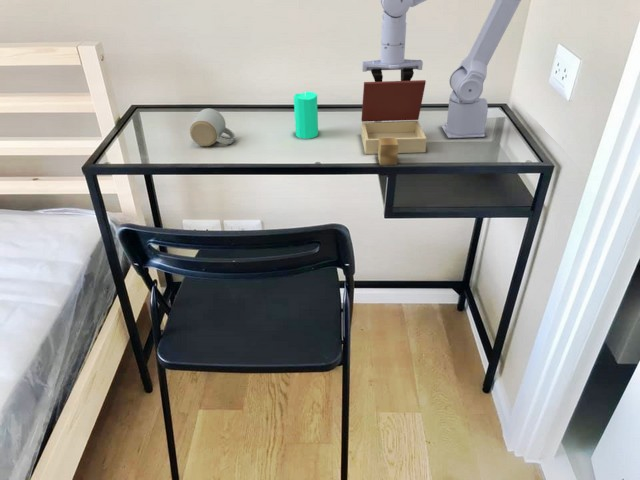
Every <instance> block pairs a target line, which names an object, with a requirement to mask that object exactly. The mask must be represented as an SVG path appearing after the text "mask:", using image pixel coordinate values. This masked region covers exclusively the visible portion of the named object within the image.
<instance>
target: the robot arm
mask: <svg viewBox="0 0 640 480" xmlns="http://www.w3.org/2000/svg"><path fill="white" fill-rule="evenodd" d="M426 1H427V0H380V5H381V7H382V9H383V11H382V15H381V17H382V21H381V31H380V32H381V33H380V35H381V38H380V59H376V60H367V61H366V60H365V61H361V71H362V72H371V75H372V77H373V80H374V82H382V81H383V78H384V75H383V71H400V81H412V80H413V77H414V74H415V72H414V70H417V71H422V70H423V64H424V63H423V60H422V59H407V58H405V53H406V37H407V22H406V21H407V13H408V12H409V9H410V8H414V7H416V6H418V5H420V4H422V3H424V2H426ZM521 2H522V0H494V3H493V5H492V6H491V9H490V11H489V13H488V15H487V17H486V19H485V21H484V23H483V25H482V26H481V29H480V31H479V33H478V35H477V37H476V39H475V41H474V43H473V45H472V47H471V48H470V50H469V53H468V55H467V56H466V57H464V58H463V60H462V61H461V63H460V64H459V65H458V67H457V68H456V69H455V70H454V71H453V72H452V73H451V74H450V77H449V80H448V81H449V86H450V88H451V89H452V91H451V93H450V94H449V99H448V107H447V108H448V109H447V118H446V124H445V125H441V128H442V130H443V132H444V133H445V135H446V137H447V138H448V139H458V138H459V139H462V138H463V139H464V138H484V137H486V134H485V133H486V127H487V126H486V125H487V120H488V119H487V118H488V111H489V105H488V101H487V99H486V98H484V97H481V96H482V93H483V91H484V83H485V80H486V79H487V75H488V74H487V73H488V72H487V71H488V65H489V63H490V62H491V60H492V57H493V55H494V53H495V51H496V50H497V47H498V46H499V44H500V42H501V40H502V38H503V37H504V35H505V33H506V31H507V29H508V26H509V24H510V23H511V21H512V19H513V17H514V15H515V13H516V11H517V9H518V7H519V6H520V3H521Z"/></svg>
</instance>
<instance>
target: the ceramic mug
mask: <svg viewBox="0 0 640 480" xmlns="http://www.w3.org/2000/svg"><path fill="white" fill-rule="evenodd" d="M189 134H190V137H191V140H192V141H193V142H194V143H195V144H197V145H199V146H201V147H210V146H212V145H214V144H215V143H217V142H218V143H220V144H223V145H231V144H233V143H234V141H235V138H236V134H235V133H234V132H233V131H232V130H231V129H230V128H228V127H226V120H225V117H224V116H223V115H222V114H221V113H220V112H219V111H217V110H216V109H214V108H204V109H202V110H200V111H199V112H198V113H197V116H196V117H195V118H194V120H193V121H192V122H191V125H190V128H189ZM222 134H225V135H227V136H229V137H230V138H224V137H222Z"/></svg>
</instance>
